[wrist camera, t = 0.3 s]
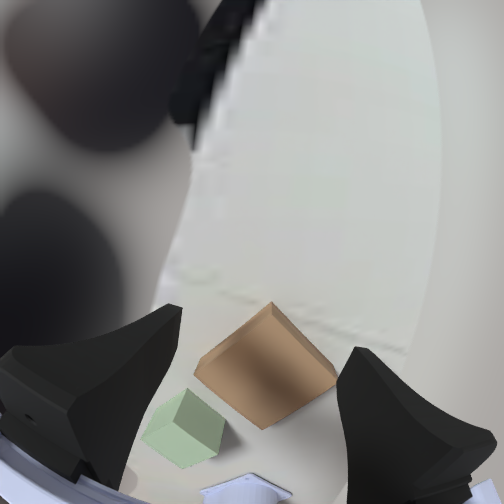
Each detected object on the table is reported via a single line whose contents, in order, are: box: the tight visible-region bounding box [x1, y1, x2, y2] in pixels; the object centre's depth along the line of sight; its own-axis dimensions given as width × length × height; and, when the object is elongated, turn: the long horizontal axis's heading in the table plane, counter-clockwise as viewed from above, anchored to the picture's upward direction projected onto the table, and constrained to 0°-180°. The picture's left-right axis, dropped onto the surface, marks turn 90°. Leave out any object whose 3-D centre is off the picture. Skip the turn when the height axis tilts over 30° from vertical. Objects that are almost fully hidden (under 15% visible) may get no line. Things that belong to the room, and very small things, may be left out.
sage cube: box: [140, 388, 226, 469], centre depth 21 cm, size 5×5×5 cm
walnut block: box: [194, 302, 338, 430], centre depth 21 cm, size 8×8×3 cm
